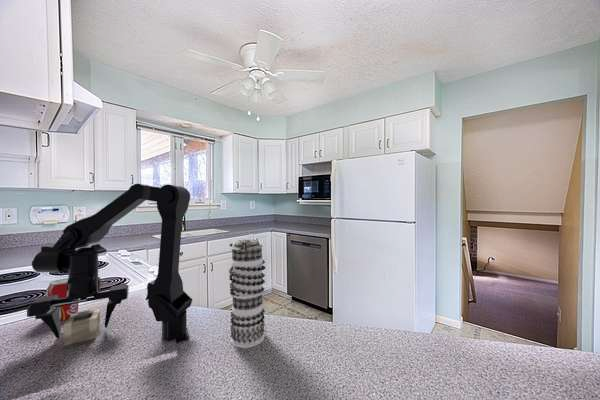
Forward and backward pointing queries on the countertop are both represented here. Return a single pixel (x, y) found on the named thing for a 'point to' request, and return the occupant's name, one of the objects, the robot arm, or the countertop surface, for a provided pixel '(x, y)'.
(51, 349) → the metal post stand
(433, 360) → the countertop surface
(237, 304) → the decorative candle
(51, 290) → the soda can
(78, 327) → the ash wood collar block
